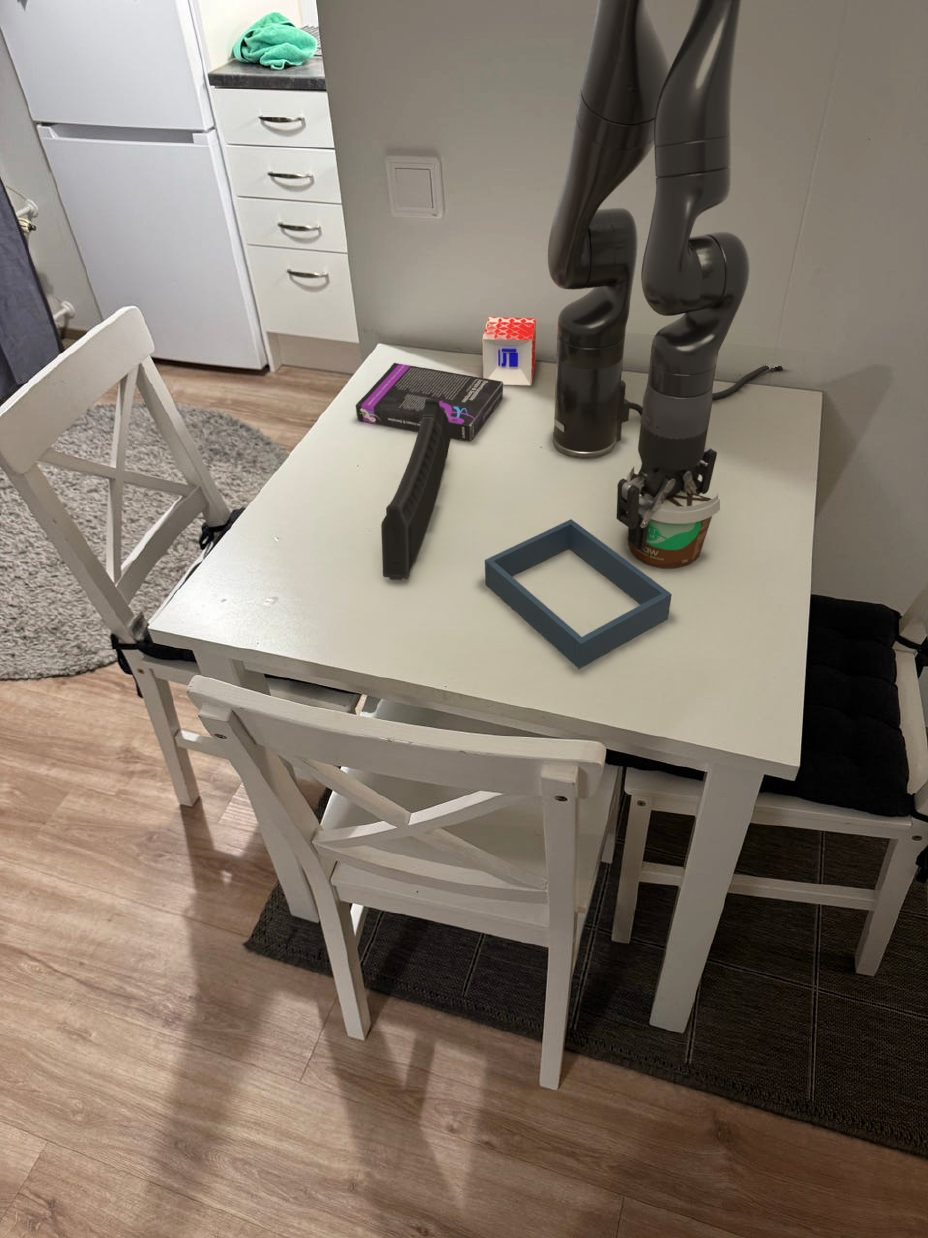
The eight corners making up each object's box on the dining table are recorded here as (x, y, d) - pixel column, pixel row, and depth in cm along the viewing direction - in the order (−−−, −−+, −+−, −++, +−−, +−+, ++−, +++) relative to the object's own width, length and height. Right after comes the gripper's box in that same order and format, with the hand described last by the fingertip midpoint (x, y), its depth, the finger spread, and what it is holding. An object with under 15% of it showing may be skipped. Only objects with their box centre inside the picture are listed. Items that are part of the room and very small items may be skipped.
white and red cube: (535, 362, 155) (536, 318, 149) (531, 385, 149) (532, 340, 144) (488, 361, 156) (487, 316, 150) (483, 383, 150) (481, 338, 145)
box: (357, 423, 143) (471, 444, 137) (354, 403, 141) (470, 423, 134) (396, 381, 152) (504, 398, 146) (393, 361, 150) (504, 378, 143)
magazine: (398, 542, 105) (440, 356, 120) (371, 540, 106) (416, 355, 120) (417, 617, 120) (452, 442, 135) (393, 615, 120) (431, 441, 135)
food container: (600, 553, 117) (606, 488, 110) (622, 528, 120) (629, 464, 114) (689, 587, 111) (701, 521, 104) (710, 560, 115) (722, 495, 108)
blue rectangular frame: (569, 543, 118) (571, 518, 116) (667, 619, 107) (672, 593, 105) (485, 584, 113) (484, 559, 110) (579, 669, 102) (580, 643, 99)
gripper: (651, 454, 97) (636, 573, 109) (745, 411, 103) (721, 528, 114) (604, 425, 102) (595, 542, 113) (696, 385, 108) (679, 500, 119)
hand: (659, 535), depth 114 cm, fingers closed on food container, 6 cm apart
